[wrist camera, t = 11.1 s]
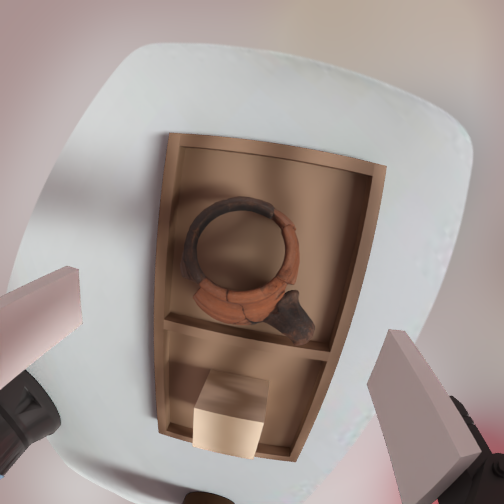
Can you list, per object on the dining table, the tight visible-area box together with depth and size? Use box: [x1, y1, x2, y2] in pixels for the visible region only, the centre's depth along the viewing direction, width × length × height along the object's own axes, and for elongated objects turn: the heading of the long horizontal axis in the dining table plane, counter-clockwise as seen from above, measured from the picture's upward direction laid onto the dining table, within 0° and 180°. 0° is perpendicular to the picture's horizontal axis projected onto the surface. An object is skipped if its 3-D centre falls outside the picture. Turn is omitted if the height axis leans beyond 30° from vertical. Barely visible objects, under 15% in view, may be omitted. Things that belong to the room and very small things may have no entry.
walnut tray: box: [154, 133, 387, 462], centre depth 26 cm, size 17×33×2 cm, turn 171°
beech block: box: [193, 369, 270, 459], centre depth 25 cm, size 6×6×6 cm
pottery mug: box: [180, 196, 315, 346], centre depth 22 cm, size 12×10×8 cm
